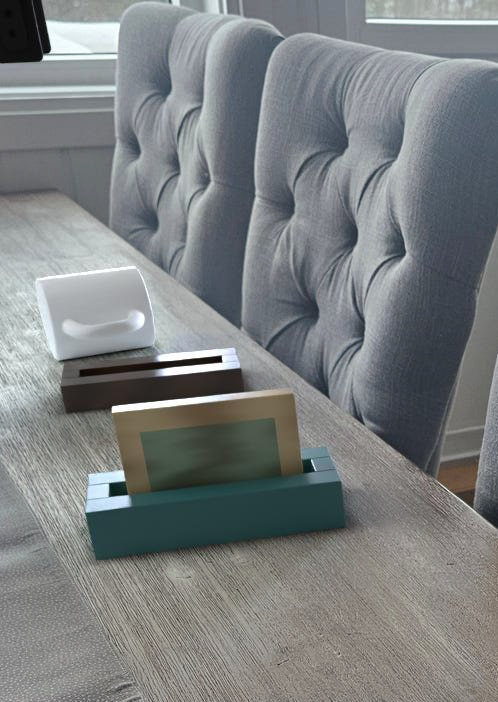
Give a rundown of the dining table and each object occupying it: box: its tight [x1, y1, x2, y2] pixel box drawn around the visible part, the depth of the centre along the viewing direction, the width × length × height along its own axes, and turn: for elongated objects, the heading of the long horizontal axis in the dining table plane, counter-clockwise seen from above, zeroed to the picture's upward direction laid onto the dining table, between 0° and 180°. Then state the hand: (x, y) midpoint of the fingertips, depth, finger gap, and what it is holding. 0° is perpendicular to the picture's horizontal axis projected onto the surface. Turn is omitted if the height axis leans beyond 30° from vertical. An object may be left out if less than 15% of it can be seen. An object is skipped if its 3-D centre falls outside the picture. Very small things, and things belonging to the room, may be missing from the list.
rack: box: [59, 346, 246, 414], centre depth 105 cm, size 16×7×2 cm, turn 105°
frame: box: [111, 387, 303, 495], centre depth 78 cm, size 12×1×9 cm, turn 105°
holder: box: [84, 445, 347, 561], centre depth 79 cm, size 17×7×4 cm, turn 105°
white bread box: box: [34, 265, 156, 361], centre depth 114 cm, size 12×10×8 cm
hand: (25, 58), depth 82 cm, fingers open, 9 cm apart
